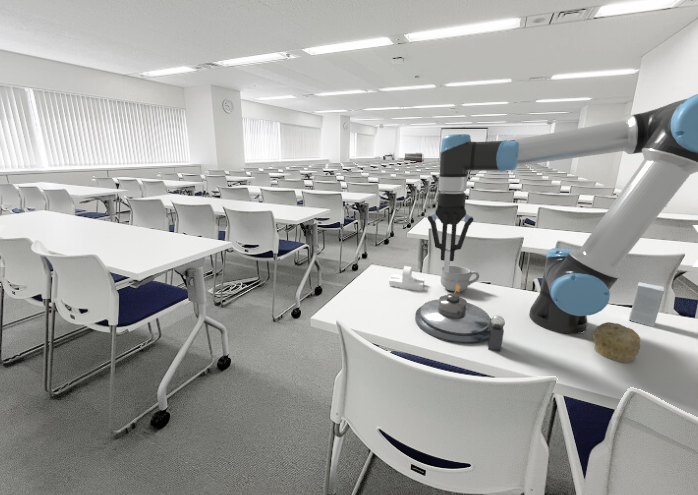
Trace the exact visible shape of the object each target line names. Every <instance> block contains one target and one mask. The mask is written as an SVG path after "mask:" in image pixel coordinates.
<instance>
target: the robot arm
mask: <svg viewBox="0 0 698 495" xmlns="http://www.w3.org/2000/svg"><path fill="white" fill-rule="evenodd" d="M440 147H441V148H440V153H439V154H440V157H439V158H440V159H439V177H438V188H437V190H438V191H440V192H439V193H438V194H437V207H436V209H435V212H434V213H431V214H428V216H427V220H428V222H429V224H430V226H431V227H430V228H431V232H432V237H433V243H434V247H435V248H436V249H440V261H444V263H443V267H444V272H449V266H451V265H450V262H454V260H455V253H456V251H458V250H462V248H463V244H464V242H465V239H466V236H467V233H468V230H469V226H470V225H472V223H473V222H474V217H473V216H472V215H469V214H468V213H467V210H466V196H467V194H466V193H465V192H466V191H467V184H468V172H469V171H472V172H473V171H481V172H483V171H487V172H488V171H489V172H494V171H495V172H507V171H515V170H516V169H517V167H518V166H526V165H532V164H534V165H535V164H540V163H546V162H555V161H561V160H569V159H576V158H583V157H590V156H599V155H604V154H605V155H606V154H612V153H619V152H624V153H626V154H627V155H633V154H642V155H643V161H642V162H641V163H640V164H639V166H638V168H637V169H636V171H635V172H634V173H633V175H632V176H631V177H630V178H629V181H627V183H626V184H625V186H624V187H623V188H622V190H621V192H620V193H619V194H618V196H617V197H616V198H615V199H614V201H613V203H612V204H611V205H610V207H609V208H608V209H607V211H606V212H605V214H604V215H603V217H602V218H601V219H600V221H599V222H598V224H596V226H595V227H594V229H593V231H592V232H591V233H590V235H589V236H588V238H587V239H586V240H585V242H584V244H583V245H582V246H581V247H580V248H579V249H572V248H571V249H570V248H568V249H567V248H562V247H561V248H557V247H555V248H550V249H548V251H547V254H546V257H545V259H546V260H545V265H544V269H543V274H542V280H541V285H540V290H539V294H538V295H537V297H536V299H535V300H534V302H533V304H532V306H531V307H530V310H529V314H528V315H529V316H528V317H529V318H530V320H531V321H532V322H534V323H535V324H537V325H538V326H540V327H543V328H545V329H548V330H549V331H553V332H556V333H557V332H558V333H562V334H569V335H570V334H571V335H572V334H573V335H575V334H581V333H583V332H585V331H587V327H588V316H594V315H596V314H599V312H601V311H603V310H604V309H605V308H606V307H607V305H608V304H609V301H610V298H611V297H610V296H611V292H610V289H611V288H612V287H613V286H614V284H615V283H616V282H617V281H618V279H619V278H620V273H619V270H618V268H619V266H620V265H621V263H622V262H623V261H624V260H625V258H626V257H627V255H628V254H629V253H630V252H631V251H632V249H633V248H634V246H635V245H636V244H637V243H638V242H639V241H640V239H641V238H642V237H643V236H644V234H645V233H646V232H647V231H648V229H649V228H650V226H652V224H654V222H655V220H657V218H658V216H659V215H660V214H661V213H662V211H663V210H664V209H665V208H666V206H667V205H668V204H669V202H670V201H671V199H672V198H674V196H675V195H676V193H678V191H679V190H680V188H681V187H682V186H683V184H684V183H685V182H686V181H687V180H688V178H689V177H690V176H691V175H692V174H695V173H698V93H696V94H694V95H692V96H689V97H687V98H685V99H681V100H678V101H674V102H672V103H669V104H666V105H664V106H661V107H657V108H655V109H652V110H649V111H645V112H640V113H635V114H630V115H628V116H627V117H626V118H624V120H620V121H613V122H607V123H602V124H595V125H590V126H585V127H579V128H574V129H568V130H562V131H556V132H550V133H545V134H540V135H534V136H533V135H532V136H527V137H522V138H516V139H510V140H508V139H506V140H491V141H489V140H488V141H472V139H471V135H470V134H467V133H462V134H461V133H460V134H459V133H455V134H446V135H444V136H443V137H442V139H441V146H440ZM437 218H438V220H439V221H440V222H441V224H442V228H441V229H442V231H441V232H442V233H441V243H440V236H439V232H438V227H437V223H436V222H437ZM463 219H464V225H463V228H462V230H461V233H460V236H459V239H458V241H457V244H456V239H457V237H456V236H457V227H458V226H457V225H458V224H459V223H461V221H462V220H463ZM449 225H450V226H451V235H450V247H449V248H447V236H448V226H449Z"/></svg>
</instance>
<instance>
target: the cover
mask: <svg viewBox="0 0 698 495" xmlns="http://www.w3.org/2000/svg"><path fill="white" fill-rule="evenodd" d="M467 303H468V301H467V300H466V299H465V298H463V297H461V296H460V294H459V295H458V294H455V292H451V293H450V292H449V293H447V294H445V295H442V296H439V307H438V312H439V314H440V315H442V316H444V317H447V318H451V319H461V318H464V317H465V315H466V307H467Z"/></svg>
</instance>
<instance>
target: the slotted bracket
mask: <svg viewBox="0 0 698 495" xmlns="http://www.w3.org/2000/svg"><path fill="white" fill-rule="evenodd" d="M389 285H390V286H389ZM388 286H389V287H391V286H395V287H394V288H398V287H400V289H405V288H406V290H407V289H408V290H411V289H412V291H420V292H421V291H423V290H424V287H425V278H423V277H422V278H421V277H416V276H415V277H414V276H413V267H412V266H406V265H404V267H403V269H402V275H399V274H391V275H390V278H388Z"/></svg>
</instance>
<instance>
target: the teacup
mask: <svg viewBox="0 0 698 495" xmlns="http://www.w3.org/2000/svg"><path fill="white" fill-rule="evenodd" d="M472 275H476V277H475V278H474V279H472V280H470V278H471V277H472ZM479 279H480V273H479V272H478V271H476V270H472V271H471V270H470V269H469V268H467V267H464V266H459V265H450V266H449V272H444V266H442V267H441V268H440V283H441V286H442V287H444V288H445V290H447V291H451V292H455V289H456V284H459V285H460V289H459V292H462V291H464V290H465V289H467V288H468V287H469V286H470V285H471V284H474V283H476V282H477V281H479Z"/></svg>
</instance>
